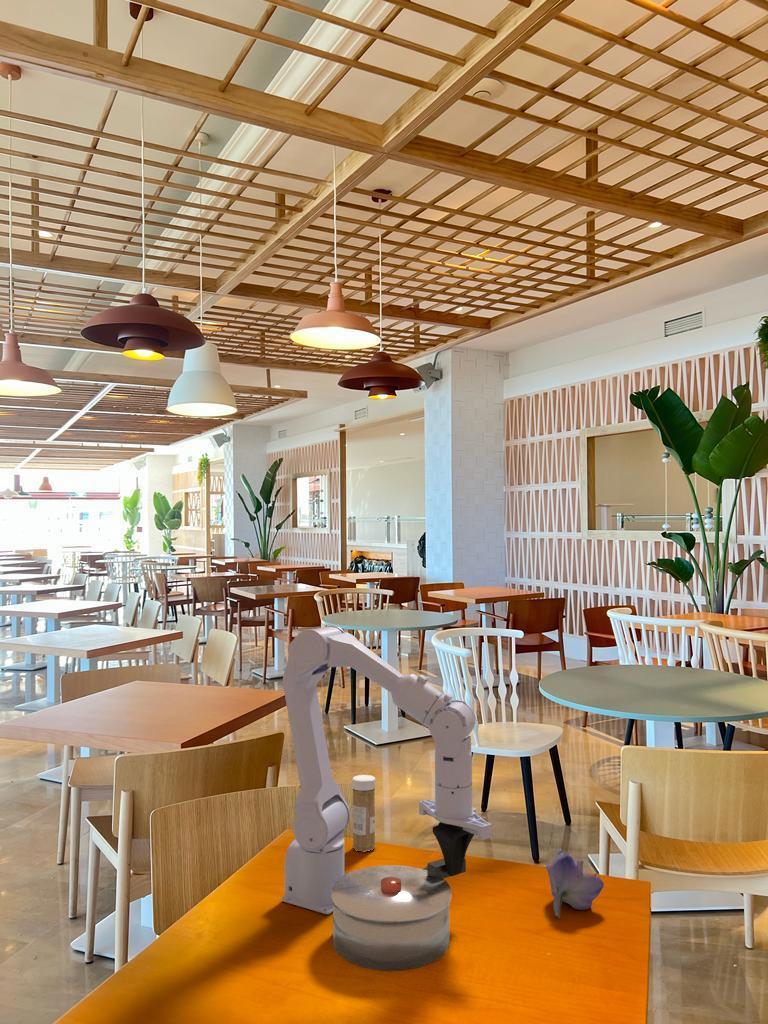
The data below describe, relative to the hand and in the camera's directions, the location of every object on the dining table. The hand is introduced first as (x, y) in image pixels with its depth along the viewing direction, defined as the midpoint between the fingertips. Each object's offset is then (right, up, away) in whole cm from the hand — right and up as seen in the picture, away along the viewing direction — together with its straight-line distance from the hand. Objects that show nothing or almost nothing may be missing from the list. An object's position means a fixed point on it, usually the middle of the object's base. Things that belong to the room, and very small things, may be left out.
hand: (454, 873), depth 114 cm
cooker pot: (-8, -7, -2) cm, 11 cm away
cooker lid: (-8, -1, -3) cm, 8 cm away
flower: (+19, -8, +4) cm, 21 cm away
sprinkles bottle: (-15, -10, +30) cm, 34 cm away
